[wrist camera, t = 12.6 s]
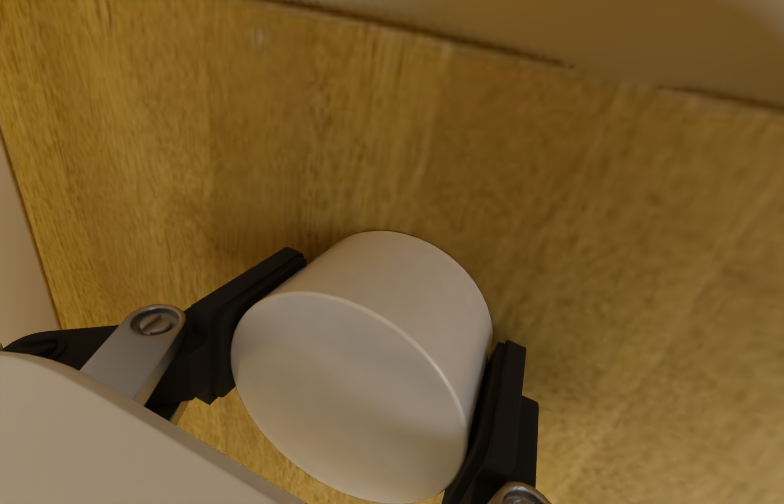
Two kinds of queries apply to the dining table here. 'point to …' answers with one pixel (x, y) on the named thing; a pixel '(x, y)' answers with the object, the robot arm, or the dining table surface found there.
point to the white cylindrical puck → (369, 367)
